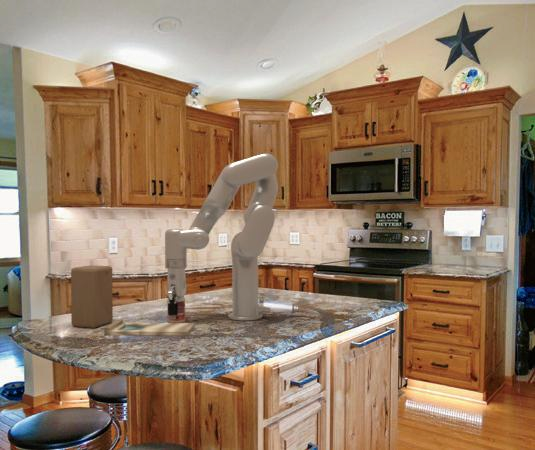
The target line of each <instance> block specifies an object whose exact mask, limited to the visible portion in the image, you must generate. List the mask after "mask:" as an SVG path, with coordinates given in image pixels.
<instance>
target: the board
mask: <svg viewBox="0 0 535 450" xmlns="http://www.w3.org/2000/svg"><path fill="white" fill-rule="evenodd" d="M123 321H124V320H123V319H116V320H114V321H112V322H111V323H109V324H107V326H106V325H105V326H104V329H103V331H104V332H103V334H104V336H173V337H174V336H178V337H179V336H186V337H187V336H188V335H189V334H190V333H191V332H192V330H193V329H194V328H195V326H196V324H195V322H189V323H187V322H182V323H169V322H123Z"/></svg>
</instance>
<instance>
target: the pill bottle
mask: <svg viewBox="0 0 535 450" xmlns="http://www.w3.org/2000/svg"><path fill="white" fill-rule="evenodd" d="M174 290H175V289H174ZM166 299H167V300H166V302H167V305H166V307H167V308H166V309H167V311H166V313H167V323H185V321H186V298H185V296H184V297H183V296H182V297H179V296H178V298H177V303H178V314H177V315H168V298H166Z"/></svg>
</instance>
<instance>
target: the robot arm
mask: <svg viewBox="0 0 535 450" xmlns="http://www.w3.org/2000/svg"><path fill="white" fill-rule="evenodd" d="M278 169H279V162H278V160H277V158H276V157H275V155H272V154H270V153H262V154H258V155H254V156H252V157H249V158H248V157H247V158H246V159H241V160H238V161H234V162H231V163H229V164H228V165H226V166H224V168H223V169H222V171H221V172H220V175H218V177H217V179H216V181H215V183H214V185H213V186H212V188H211V189H210V192H209V194H208V195H207V197H206V198H205V200H204V202H203V204H202V206H201V208H200V210H199V211H198V213H197V215H196V216H195V218H194V220H193V221H192V223H191V225H190V227H189V228H188V229H182V228H169V229H167V230H166V231H165V232H164V266H165V267H164V269H167V275H166V276H167V278H166V280H167V283H166V291H167V293H166V295H167V296H168V297H167V299H168V315H177V314H178V303H177V298H178V296H179V297H182V296H183V297H184V298H185V294H186V293H187V276H186V269H187V268H188V265H187V264H188V263H187V262H188V261H187V259H188V258H187V257H188V256H187V252H188V251H187V250H188V249H189V250H195V251H196V250H203V249H205V248H206V247H207V246H208V244H209V242H210V236H209V235H210V233H211V231H212V229H213V228H214V227H215V225H216V223H217V222H218V221H219V219H221V218H222V216H224V214H225V213H226V212H227V211H228V209H229V207H230V205H231V204H232V202H233V200H234V198H235V197H236V195H237V193H238V191H239V189H240V187H241V186H244V185H247V184H251V183H254V182H255V186H254V187H255V188H254V191H253V194H252V197H251V199H250V201H249V204H248V206H247V208H246V211H244V214H243V215H244V216H243V221H244V226H243V228H242V230H241V231H240V232H237V233H236V234H235V235H234V236H233V238H232V240H231V244H230V251H231V253H230V254H231V263H232V264H231V266H232V268H231V269H232V270H231V271H232V273H231V274H232V275H231V276H232V282H231V283H232V287H231V288H232V291H231V292H232V312H230V313H228V315H227V317H228V319H230V320H233V321H240V322H241V321H243V322H244V321H255V320H260V319H262V318H263V313H264V314H271V307H267V306H264V307H263V306H260V305H261V304H260V303H259V262H258V260H259V259H258V258H259V256H261V254H262V253H263V251H264V249H265V247H266V245H267V243H268V241H269V237H270V235H271V232H272V231H273V228H274V225H275V220H276V219H275V218H276V216H275V210H274V209H273V207H274V205H275V202H276V199H277V197H278V193H279V182H278V179H277V175H276V174H277V173H276V172H277V171H278ZM174 289H175V290H174Z"/></svg>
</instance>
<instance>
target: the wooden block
mask: <svg viewBox="0 0 535 450" xmlns="http://www.w3.org/2000/svg"><path fill="white" fill-rule="evenodd" d="M70 277H71V278H70V280H71V281H70V282H71V283H70V285H71V287H70V289H71V290H70V292H71V293H70V296H71V297H70V298H71V300H70V301H71V307H70V308H71V311H70V312H71V315H70V316H71V326H72V327H76V328H88V329H89V328H91V329H95V328H99V327H102V326H104V325H105V326H106V325H109V324H111V323H113V321H114V320H113V315H114V313H113V305H114V304H113V302H114V301H113V267H112V266H111V265H110V266H109V265H85V266H76V267H73V268H71V269H70Z"/></svg>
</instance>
